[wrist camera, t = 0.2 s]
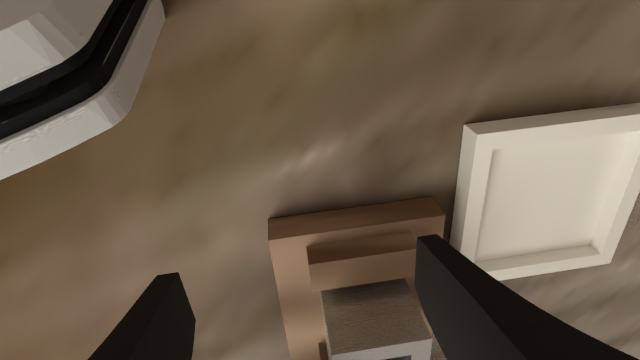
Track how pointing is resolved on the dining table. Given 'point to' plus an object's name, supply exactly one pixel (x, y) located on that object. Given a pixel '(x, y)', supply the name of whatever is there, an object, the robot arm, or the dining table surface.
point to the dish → (546, 190)
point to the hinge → (68, 72)
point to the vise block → (343, 259)
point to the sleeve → (374, 323)
